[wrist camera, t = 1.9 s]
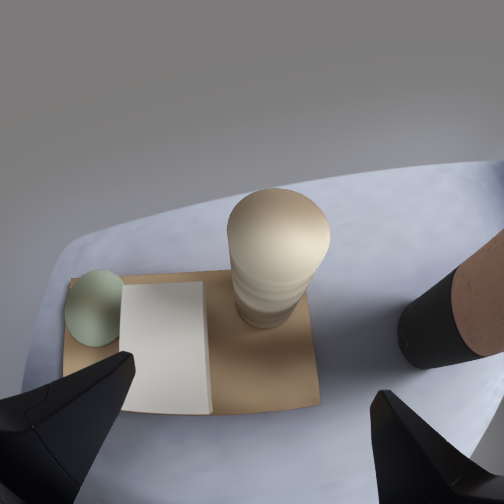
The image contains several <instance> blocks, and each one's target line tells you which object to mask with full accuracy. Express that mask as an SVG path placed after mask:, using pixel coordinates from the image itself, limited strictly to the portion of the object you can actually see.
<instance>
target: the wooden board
mask: <svg viewBox="0 0 504 504" xmlns="http://www.w3.org/2000/svg"><path fill="white" fill-rule="evenodd" d="M196 281H203V284H204V287H205V289H206V302H207V328H208V349H209V366H210V382H211V395H212V408H213V412H211V413H210V414H162V413H147V412H135V411H125V410H120V411H125V412H134V413H145V414H160V415H189V416H206V415H235V414H250V413H262V412H272V411H280V410H288V409H296V408H302V407H309V406H314V405H320V404H321V400H320V391H319V383H318V374H317V366H316V358H315V351H314V343H313V336H312V329H311V322H310V315H309V309H308V302H307V296H306V290H305V292H304V293H303V295H302V297H301V299H300V300H299V302H298V304H297V305H296V307H295V309H294V310H293V312H292V314H291V315H290V317H289V318H288V320H287V321H286V322H285V323H283V324H282V325H280V326H279V327H276V328H273V329H269V330H262V329H257V328H254V327H251V326H250V325H248V324H247V323H245V322H244V321H243V320H242V319H241V317H240V316H239V314H238V312H237V309H236V304H235V296H234V288H233V279H232V271H231V270H218V271H202V272H186V273H169V274H151V275H132V276H117V275H116V274H114V273H112V272H110V271H107V270H95V271H91V272H89V273H87V274H85V275H83V276H82V277H80V278H71V283H70V290H69V293H68V296H67V299H66V302H65V311H64V312H65V321H66V324H65V337H64V356H63V377H65V376H67V375H69V374H72V373H74V372H76V371H78V370H81V369H83V368H85V367H87V366H90V365H92V364H94V363H96V362H98V361H101V360H103V359H105V358H107V357H109V356H112V355H114V354H116V353H118V352H119V339H120V315H121V300H122V288H123V285H136V284H158V283H178V282H196Z"/></svg>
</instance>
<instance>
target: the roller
mask: <svg viewBox="0 0 504 504" xmlns="http://www.w3.org/2000/svg"><path fill="white" fill-rule="evenodd" d="M227 235H228V244H229V253H230V262H231V271H232V279H233V288H234V296H235V304H236V309H237V312H238V314H239V316H240V317H241V319H242V320H243V321H244V322H245V323H247V324H248V325H250V326H251V327H254V328H257V329H262V330H269V329H273V328H276V327H279V326H280V325H282V324H283V323H285V322H286V321H287V320H288V318H289V317H290V315H291V314H292V312H293V310H294V309H295V307H296V305H297V304H298V302H299V300H300V299H301V297H302V295H303V293H304V292H305V290H306V288H307V286H308V285H309V283H310V281H311V279H312V278H313V276H314V274H315V272H316V271H317V269H318V267H319V265H320V263H321V261H322V260H323V258H324V256H325V254H326V252H327V250H328V247H329V243H330V228H329V224H328V221H327V219H326V217H325V215H324V213H323V212H322V210H321V209H320V208H319V207H318V206H317V205H316V204H315V203H314V202H313V201H312V200H310V199H309V198H307V197H306V196H304V195H302V194H300V193H297V192H295V191H291V190H287V189H280V188H272V189H264V190H260V191H257V192H254V193H252V194H250V195H248V196H246V197H245V198H243V199H242V200H241V201H240V202H239V203H238V204H237V205H236V206H235V207H234V209H233V210H232V212H231V214H230V217H229V220H228V225H227Z"/></svg>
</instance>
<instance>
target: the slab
mask: <svg viewBox="0 0 504 504" xmlns="http://www.w3.org/2000/svg"><path fill="white" fill-rule="evenodd" d="M120 351H127V352H130V353H132V354H133V355H134V361H135V367H136V373H135V377H134V379H133V381H132V384H131V386H130V389H129V391H128V394H127V396H126V399H125V402H124V404H123V406H122V408H121V410H125V411H135V412H147V413H162V414H210V413H211V412H213V408H212V395H211V382H210V366H209V349H208V328H207V302H206V289H205V287H204V284H203V281H196V282H178V283H158V284H136V285H123V288H122V300H121V315H120V339H119V352H120Z"/></svg>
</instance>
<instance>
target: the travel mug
mask: <svg viewBox="0 0 504 504" xmlns="http://www.w3.org/2000/svg"><path fill="white" fill-rule="evenodd" d="M398 341H399V345H400V348H401V351H402V353H403V354H404V356H405V358H406V359H407V360H408V361H409V362H410V363H411V364H413V365H414V366H416V367H419V368H423V369H431V368H438V367H443V366H449V365H454V364H459V363H463V362H468V361H472V360H477V359H481V358H485V357H488V356H492V355H495V354H498V353H501V352H504V229H503V230H502V231H501V232H499V233H498V234H497V235H496V236H495V237H494V238H492V239H491V240H490V241H489V242H488V243H487V244H485V245H484V246H483V247H482V248H481V249H479V250H478V251H477V252H476V253H474V254H473V255H472V256H471V257H469V258H468V259H467V260H466V261H464V262H463V263H462V264H461V265H459V266H458V267H457V268H456V269H454V270H453V271H452V272H451V273H450V274H448V275H447V276H446V277H445V278H443V279H442V280H441V281H440V282H438V283H437V284H436V285H435V286H433V287H432V288H431V289H429V290H428V291H427V292H425V293H424V294H423V295H421V296H420V297H419V298H417V299H416V300H415V301H413V302H412V303H411V304H410V305H409V306H408V307H407V308H406V309H405V310H404V312H403V313H402V316H401V318H400V321H399V325H398Z"/></svg>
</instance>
